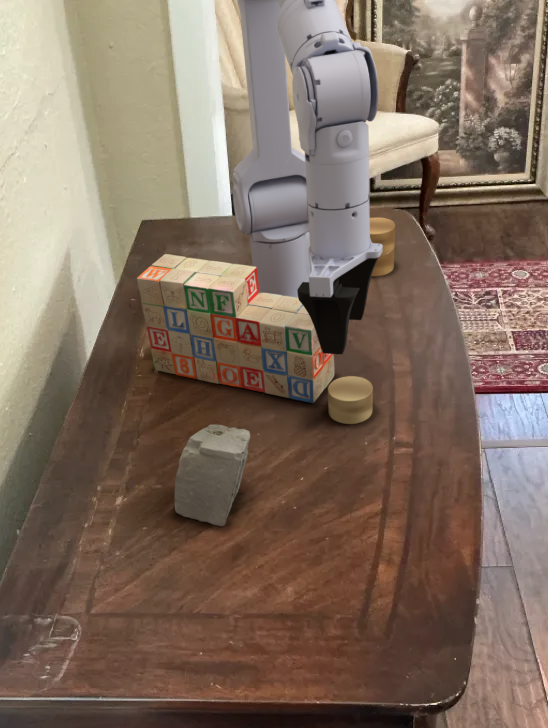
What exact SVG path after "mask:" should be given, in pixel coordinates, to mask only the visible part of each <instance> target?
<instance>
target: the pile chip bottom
mask: <svg viewBox="0 0 548 728" xmlns="http://www.w3.org/2000/svg"><path fill="white" fill-rule="evenodd" d="M394 268H395V248H394V249H393V250H392V251H390V252H388V253H386V254H382V255H380V257H378V260H377V262H376V264H375V267H374V270H373V273H372V276H371V277H382V276H385V275H388V274H390V273H392V271H393V270H394Z"/></svg>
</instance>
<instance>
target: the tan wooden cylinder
mask: <svg viewBox="0 0 548 728" xmlns="http://www.w3.org/2000/svg"><path fill="white" fill-rule="evenodd" d="M373 401H374V387H373V384H372V382H371V381H370V380H368V379H367V378H364V377H361V376H355V375H347V376H342V377H338V378H336V379H334V380H333V381H330V383H329V384H328V386H327V405H328V406H327V408H328V409H327V410H328V415H329V418H330V419H332V420H333V421H335V422H337V423H340V424H344V425H345V424H346V425H356V424H359V423H363V422H365V421H366V420H368V419H370V417H371V416H372V415H373V408H374V407H373V406H374V405H373V404H374V403H373Z"/></svg>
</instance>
